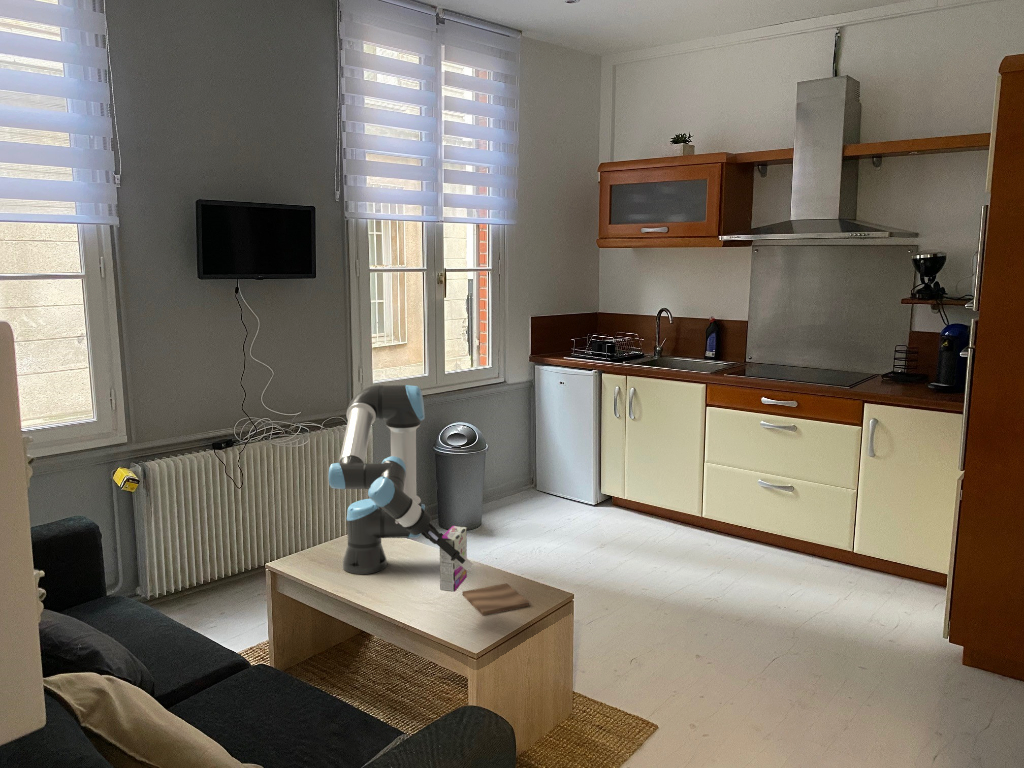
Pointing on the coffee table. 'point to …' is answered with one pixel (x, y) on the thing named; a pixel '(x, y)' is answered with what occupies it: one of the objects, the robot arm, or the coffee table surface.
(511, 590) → the walnut board
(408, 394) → the robot arm
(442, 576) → the candy bar box
